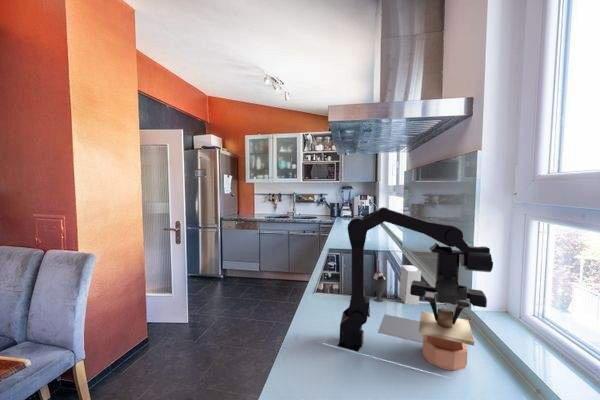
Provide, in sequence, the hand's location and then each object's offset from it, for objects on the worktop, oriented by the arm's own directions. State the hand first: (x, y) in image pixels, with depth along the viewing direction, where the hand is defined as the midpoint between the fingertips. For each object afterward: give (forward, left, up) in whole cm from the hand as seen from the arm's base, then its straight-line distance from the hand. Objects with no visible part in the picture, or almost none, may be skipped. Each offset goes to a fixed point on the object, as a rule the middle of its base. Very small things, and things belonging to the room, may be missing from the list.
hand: (444, 322), depth 80 cm
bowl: (0, 0, -11) cm, 11 cm away
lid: (0, 0, -2) cm, 2 cm away
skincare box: (-12, +39, -11) cm, 42 cm away
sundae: (-24, +33, -11) cm, 42 cm away
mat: (-12, +13, -11) cm, 21 cm away
